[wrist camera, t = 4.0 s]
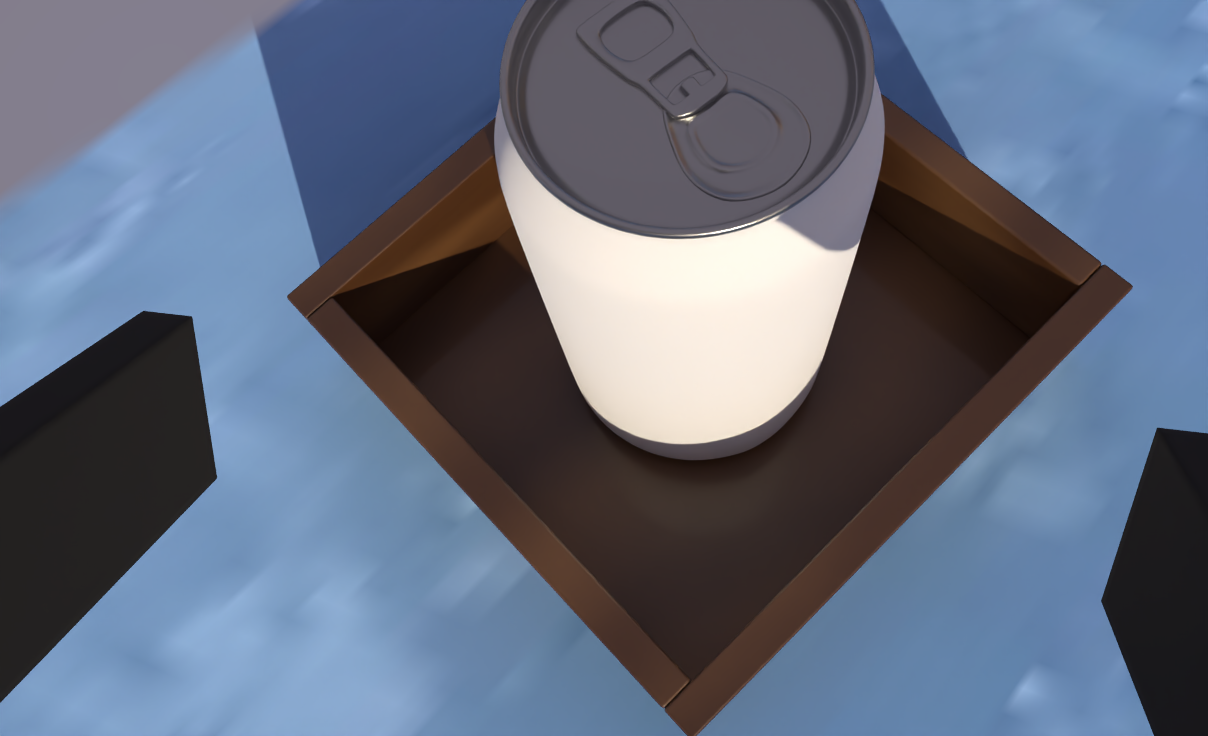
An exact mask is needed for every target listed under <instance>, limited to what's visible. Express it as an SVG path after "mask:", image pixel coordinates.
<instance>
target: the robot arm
mask: <svg viewBox="0 0 1208 736" xmlns="http://www.w3.org/2000/svg"><path fill="white" fill-rule="evenodd" d="M216 479H217V475H216V468H215V462H214V455H213V449H212V442H211V436H210V429H209V423H208V416H207V410H206V403H205V397H204V391H203V384H202V378H201V371H200V365H199V358H198V352H197V345H196V339H195V332H194V326H193V319H192V317H191V316H183V315H174V314H165V313H157V312H148V311H142V312H141V313H139V314H138V315H136V316H135V317H133V318H132V319H131V320H129V321H128V322H126V323H125V324H123V325H122V326H120V327H119V328H117V329H116V330H114V331H113V332H111V333H110V334H108V335H107V336H105V337H104V338H102V339H101V340H99V341H98V342H96V343H95V344H93V345H92V346H90V347H89V348H87V349H86V350H84V351H83V352H81V353H80V354H78V355H77V356H75V357H74V358H72V359H71V360H69V361H68V362H66V363H65V364H63V365H62V366H60V367H59V368H57V369H56V370H55V371H53V372H52V373H50V374H49V375H47V376H46V377H44V378H43V379H41V380H40V381H38V382H37V383H35V384H34V385H32V386H31V387H29V388H28V389H26V390H25V391H23V392H22V393H20V394H19V395H17V396H16V397H14V398H13V399H11V400H10V401H8V402H7V403H5V404H4V405H2V406H1V407H0V702H1V701H2V700H3V699H4V698H5V697H6V696H7V695H8V694H9V693H10V692H11V691H12V690H13V689H14V688H15V687H16V686H17V685H18V684H19V683H20V682H21V681H22V680H23V679H24V678H25V677H26V676H27V675H28V673H29V672H30V671H31V670H32V669H33V668H34V667H35V666H36V665H37V664H38V663H39V662H40V661H41V660H42V659H43V658H44V657H45V656H46V655H47V654H48V653H49V652H50V651H51V650H52V649H53V648H54V647H55V646H56V644H57V643H58V642H59V641H60V640H61V639H62V638H63V637H64V636H65V635H66V634H67V633H68V632H69V631H70V630H71V629H72V628H73V627H74V626H75V625H76V624H77V623H78V622H79V621H80V620H81V619H82V618H83V617H84V615H85V614H86V613H87V612H88V611H89V610H90V609H91V608H92V607H93V606H94V605H95V604H96V603H97V602H98V601H99V600H100V599H101V598H102V597H103V596H104V595H105V594H106V593H107V592H108V591H109V590H110V589H111V588H112V586H113V585H114V584H115V583H116V582H117V581H118V580H119V579H120V578H121V577H122V576H123V575H124V574H125V573H126V572H127V571H128V570H129V569H130V568H131V567H132V566H133V565H134V564H135V563H136V562H137V561H138V560H139V559H140V557H141V556H142V555H143V554H144V553H145V552H146V551H147V550H148V549H149V548H150V547H151V546H152V545H153V544H154V543H155V542H156V541H157V540H158V539H159V538H160V537H161V536H162V535H163V534H164V533H165V532H166V531H167V530H168V528H169V527H170V526H171V525H172V524H173V523H174V522H175V521H176V520H177V519H178V518H179V517H180V516H181V515H182V514H183V513H184V512H185V511H186V510H187V509H188V508H189V507H190V506H191V505H192V504H193V503H194V502H195V501H196V499H197V498H198V497H199V496H200V495H201V494H202V493H203V492H204V491H205V490H206V489H207V488H208V487H209V486H210V485H211V484H212V483H213V482H214V481H215V480H216ZM1101 602H1102V604H1103V607H1104V609H1105V612H1106V614H1107V617H1108V620H1109V622H1110V625H1111V627H1112V630H1113V632H1114V635H1115V637H1116V640H1117V642H1118V645H1119V648H1120V650H1121V653H1122V655H1123V658H1124V660H1125V663H1126V665H1127V668H1128V670H1129V673H1130V676H1131V678H1132V681H1133V683H1134V686H1135V688H1136V691H1137V693H1138V696H1139V698H1140V701H1141V704H1142V706H1143V709H1144V711H1145V714H1146V716H1147V719H1148V721H1149V724H1150V726H1151V729H1152V732H1153V734H1154V736H1208V434H1207V433H1199V432H1190V431H1181V430H1173V429H1164V428H1157V430H1156V433H1155V436H1154V439H1153V442H1152V445H1151V448H1150V452H1149V455H1148V458H1147V461H1146V464H1145V467H1144V470H1143V473H1142V476H1141V479H1140V482H1139V486H1138V489H1137V492H1136V495H1135V498H1134V501H1133V504H1132V507H1131V510H1130V513H1129V517H1128V520H1127V523H1126V526H1125V529H1124V532H1123V535H1122V538H1121V541H1120V544H1119V548H1118V551H1117V554H1116V557H1115V560H1114V563H1113V566H1112V569H1111V572H1110V575H1109V578H1108V582H1107V585H1106V588H1105V591H1104V594H1103V597H1102V600H1101Z"/></svg>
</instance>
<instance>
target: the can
mask: <svg viewBox="0 0 1208 736" xmlns="http://www.w3.org/2000/svg"><path fill="white" fill-rule="evenodd" d="M499 85H500V100H499V104H498V109H497V114H496V120H495V132H494V146H495V157H496V164H497V170H498V176H499V180H500V184H501V188H502V191H503V195H504V198H505V201H506V204H507V207H508V210H509V213H510V215H511V218H512V221H513V223H514V226H515V229H516V232H517V234H518V237H519V240H520V242H521V245H522V247H523V250H524V253H525V255H526V258H527V260H528V263H529V265H530V268H531V271H532V273H533V276H534V278H535V281H536V283H537V286H538V289H539V291H540V294H541V296H542V299H543V301H544V304H545V306H546V309H547V311H548V314H549V316H550V319H551V322H552V324H553V327H554V329H555V332H556V334H557V337H558V339H559V342H560V344H561V347H562V349H563V351H564V354H565V356H566V359H567V361H568V364H569V366H570V369H571V371H572V373H573V376H574V378H575V380H576V383H577V385H578V387H579V389H580V391H581V393H582V395H583V396H584V398H585V400H586V401H587V403H588V405H589V406H590V407H591V409H592V410H593V411H594V413H595V414H596V415H597V416H598V418H599V419H600V420H601V421H602V422H603V423H604V424H605V425H606V426H607V427H608V428H609V429H611V430H612V431H613V432H614V433H615V434H617V435H618V436H620V437H621V438H622V439H624V440H626V441H627V442H629V443H631V444H632V445H634V446H636V447H638V448H640V449H643V450H645V451H648V452H650V453H653V454H656V455H660V456H664V457H668V458H674V459H682V460H708V459H716V458H722V457H727V456H731V455H735V454H739V453H742V452H745V451H747V450H749V449H752V448H754V447H756V446H757V445H759V444H761V443H762V442H764V441H765V440H767V439H768V438H770V437H771V436H772V435H774V434H775V433H776V432H777V431H778V430H779V429H780V428H781V427H783V426H784V425H785V423H786V422H787V421H788V420H789V419H790V418H791V417H792V416H793V415H794V413H795V412H796V411H797V410H798V408H799V407H800V406H801V404H802V403H803V401H804V400H805V398H806V397H807V395H808V393H809V392H810V390H811V388H812V386H813V384H814V381H815V379H816V376H817V374H818V371H819V368H820V365H821V362H822V360H823V357H824V354H825V350H826V347H827V344H828V341H829V338H830V335H831V332H832V329H833V326H834V322H835V319H836V316H837V313H838V310H839V307H840V304H841V300H842V297H843V294H844V291H845V288H846V284H847V281H848V278H849V275H850V272H851V268H852V265H853V262H854V259H855V255H856V252H857V249H858V246H859V242H860V239H861V236H862V233H863V229H864V226H865V223H866V219H867V216H868V213H869V209H870V206H871V202H872V199H873V196H874V192H875V188H876V184H877V180H878V176H879V172H880V167H881V162H882V156H883V147H884V134H885V122H884V109H883V103H882V97H881V93H880V89H879V85H878V82H877V79H876V76H875V66H874V54H873V47H872V42H871V38H870V34H869V31H868V28H867V25H866V22H865V20H864V17H863V15H862V13H861V11H860V9H859V7H858V5H857V3H856V1H855V0H526V2H525V4H524V5H523V7H522V8H521V10H520V12H519V13H518V15H517V17H516V19H515V21H514V23H513V25H512V28H511V30H510V32H509V35H508V38H507V41H506V44H505V47H504V51H503V56H502V61H501V68H500V82H499Z"/></svg>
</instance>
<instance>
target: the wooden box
mask: <svg viewBox="0 0 1208 736" xmlns="http://www.w3.org/2000/svg"><path fill="white" fill-rule="evenodd" d="M881 97H882V103H883V109H884V122H885V134H884V147H883V156H882V162H881V167H880V172H879V176H878V180H877V184H876V188H875V192H874V196H873V199H872V202H871V206H870V209H869V213H868V216H867V219H866V223H865V226H864V229H863V233H862V236H861V239H860V242H859V246H858V249H857V252H856V255H855V259H854V262H853V265H852V268H851V272H850V275H849V278H848V281H847V284H846V288H845V291H844V294H843V297H842V300H841V304H840V307H839V310H838V313H837V316H836V319H835V322H834V326H833V329H832V332H831V335H830V338H829V341H828V344H827V347H826V350H825V354H824V357H823V360H822V362H821V365H820V368H819V371H818V374H817V376H816V379H815V381H814V384H813V386H812V388H811V390H810V392H809V393H808V395H807V397H806V398H805V400H804V401H803V403H802V404H801V406H800V407H799V408H798V410H797V411H796V412H795V413H794V415H793V416H792V417H791V418H790V419H789V420H788V421H787V422H786V423H785V425H784V426H783V427H781V428H780V429H779V430H778V431H777V432H776V433H775V434H774V435H772V436H771V437H770V438H768V439H767V440H765V441H764V442H762V443H761V444H759V445H757V446H756V447H754V448H752V449H749V450H747V451H745V452H742V453H739V454H735V455H731V456H727V457H722V458H716V459H708V460H682V459H674V458H668V457H664V456H660V455H656V454H653V453H650V452H648V451H645V450H643V449H640V448H638V447H636V446H634V445H632V444H631V443H629V442H627V441H626V440H624V439H622V438H621V437H620V436H618V435H617V434H615V433H614V432H613V431H612V430H611V429H609V428H608V427H607V426H606V425H605V424H604V423H603V422H602V421H601V420H600V419H599V418H598V416H597V415H596V414H595V413H594V411H593V410H592V409H591V407H590V406H589V405H588V403H587V401H586V400H585V398H584V396H583V395H582V393H581V391H580V389H579V387H578V385H577V383H576V380H575V378H574V376H573V373H572V371H571V369H570V366H569V364H568V361H567V359H566V356H565V354H564V351H563V349H562V347H561V344H560V342H559V339H558V337H557V334H556V332H555V329H554V327H553V324H552V322H551V319H550V316H549V314H548V311H547V309H546V306H545V304H544V301H543V299H542V296H541V294H540V291H539V289H538V286H537V283H536V281H535V278H534V276H533V273H532V271H531V268H530V265H529V263H528V260H527V258H526V255H525V253H524V250H523V247H522V245H521V242H520V240H519V237H518V234H517V232H516V229H515V226H514V223H513V221H512V218H511V215H510V213H509V210H508V207H507V204H506V201H505V198H504V195H503V191H502V188H501V184H500V180H499V176H498V170H497V164H496V157H495V146H494V132H495V120H496V117H495V118H494V119H493V120H492V121H491V122H489V123H488V124H487V125H486V126H485V127H484V128H482V129H481V130H480V131H479V132H478V133H477V134H475V135H474V136H473V137H472V138H471V139H470V140H468V141H467V142H466V143H465V144H464V145H463V146H461V147H460V148H459V149H458V150H457V151H456V152H454V153H453V154H452V155H451V156H450V157H449V158H447V159H446V160H445V161H444V162H443V163H442V164H440V165H439V166H438V167H437V168H436V169H435V170H433V171H432V172H431V173H430V174H429V175H428V176H426V177H425V178H424V179H423V180H422V181H421V182H419V183H418V184H417V185H416V186H415V187H414V188H412V189H411V190H410V191H409V192H408V193H407V194H405V195H404V196H403V197H402V198H401V199H400V200H398V201H397V202H396V203H395V204H394V205H393V206H391V207H390V208H389V209H388V210H387V211H386V212H384V213H383V214H382V215H381V216H380V217H379V218H377V219H376V220H375V221H374V222H373V223H372V224H370V225H369V226H368V227H367V228H366V229H365V230H363V231H362V232H361V233H360V234H359V235H358V236H356V237H355V238H354V239H353V240H352V241H351V242H349V243H348V244H347V245H346V246H345V247H344V248H342V249H341V250H340V251H339V252H338V253H337V254H335V255H334V256H333V257H332V258H331V259H330V260H328V261H327V262H326V263H325V264H324V265H323V266H321V267H320V268H319V269H318V270H317V271H316V272H314V273H313V274H312V275H311V276H310V277H309V278H307V279H306V280H305V281H304V282H303V283H302V284H300V285H299V286H298V287H297V288H296V289H295V290H293V291H292V292H291V293H290V294H289V295H288V296H287V298H288V300H289V301H290V302H291V303H292V304H293V305H294V306H295V307H296V308H297V309H298V310H299V312H300V313H301V314H302V315H303V316H304V317H305V318H306V319H307V320H308V321H309V322H310V324H311V325H312V326H313V327H314V328H315V329H316V330H317V331H318V332H319V333H320V335H321V336H322V337H323V338H324V339H325V340H326V341H327V342H328V343H329V344H330V345H331V347H332V348H333V349H334V350H335V351H336V352H337V353H338V354H339V355H340V356H341V357H342V359H343V360H344V361H345V362H346V363H347V364H348V365H349V366H350V367H351V368H352V370H353V371H354V372H355V373H356V374H357V375H358V376H359V377H360V378H361V379H362V380H363V382H364V383H365V384H366V385H367V386H368V387H369V388H370V389H371V390H372V391H373V392H374V394H375V395H376V396H377V397H378V398H379V399H380V400H381V401H382V402H383V403H384V404H385V406H386V407H387V408H388V409H389V410H390V411H391V412H392V413H393V414H394V415H395V417H396V418H397V419H398V420H399V421H400V422H401V423H402V424H403V425H404V426H405V427H406V429H407V430H408V431H409V432H410V433H411V434H412V435H413V436H414V437H415V438H416V439H417V441H418V442H419V443H420V444H421V445H422V446H423V447H424V448H425V449H426V450H427V452H428V453H429V454H430V455H431V456H432V457H433V458H434V459H435V460H436V461H437V462H438V464H439V465H440V466H441V467H442V468H443V469H444V470H445V471H446V472H447V473H448V474H449V476H450V477H451V478H452V479H453V480H454V481H455V482H456V483H457V484H458V485H459V486H460V488H461V489H462V490H463V491H464V492H465V493H466V494H467V495H468V496H469V497H470V499H471V500H472V501H473V502H474V503H475V504H476V505H477V506H478V507H479V508H480V509H481V511H482V512H483V513H484V514H485V515H486V516H487V517H488V518H489V519H490V520H491V521H492V523H493V524H494V525H495V526H496V527H497V528H498V529H499V530H500V531H501V532H502V534H503V535H504V536H505V537H506V538H507V539H508V540H509V541H510V542H511V543H512V544H513V546H514V547H515V548H516V549H517V550H518V551H519V552H520V553H521V554H522V555H523V556H524V558H525V559H526V560H527V561H528V562H529V563H530V564H531V565H532V566H533V567H534V568H535V570H536V571H537V572H538V573H539V574H540V575H541V576H542V577H543V578H544V579H545V581H546V582H547V583H548V584H549V585H550V586H551V587H552V588H553V589H554V590H555V591H556V593H557V594H558V595H559V596H560V597H561V598H562V599H563V600H564V601H565V602H566V603H567V605H568V606H569V607H570V608H571V609H572V610H573V611H574V612H575V613H576V614H577V616H578V617H579V618H580V619H581V620H582V621H583V622H584V623H585V624H586V625H587V626H588V628H589V629H590V630H591V631H592V632H593V633H594V634H595V635H596V636H597V637H598V638H599V640H600V641H601V642H602V643H603V644H604V645H605V646H606V647H607V648H608V649H609V650H610V652H611V653H612V654H613V655H614V656H615V657H616V658H617V659H618V660H619V661H620V663H621V664H622V665H623V666H624V667H625V668H626V669H627V670H628V671H629V672H630V673H631V675H632V676H633V677H634V678H635V679H636V680H637V681H638V682H639V683H640V684H641V685H642V687H643V688H644V689H645V690H646V691H647V692H648V693H649V694H650V695H651V696H652V697H653V699H654V700H655V701H656V702H657V703H658V704H659V705H660V706H661V707H663V708H665V712H666V713H667V714H668V715H669V716H670V717H671V718H672V719H673V720H674V722H675V723H676V724H677V725H678V726H679V727H680V728H681V729H682V730H683V731H684V733H685V734H686V735H687V736H697V735H698V734H699V733H700V732H701V731H702V730H703V728H704V727H705V726H706V725H707V724H708V723H709V722H710V721H711V720H712V719H713V718H714V717H715V716H716V715H717V714H718V713H719V712H720V711H721V710H722V709H723V708H724V707H725V706H726V705H727V704H728V703H729V702H730V701H731V700H732V699H733V698H734V697H735V696H736V695H737V694H738V693H739V692H740V691H741V689H742V688H743V687H744V686H745V685H746V684H747V683H748V682H749V681H750V680H751V679H752V678H753V677H754V676H755V675H756V674H757V673H758V672H759V671H760V670H761V669H762V668H763V667H764V666H765V665H766V664H767V663H768V662H769V661H770V660H771V659H772V658H773V657H774V656H775V655H776V654H777V653H778V652H779V651H780V649H781V648H782V647H783V646H784V645H785V644H786V643H787V642H788V641H789V640H790V639H791V638H792V637H793V636H794V635H795V634H796V633H797V632H798V631H799V630H800V629H801V628H802V627H803V626H804V625H805V624H806V623H807V622H808V621H809V620H810V619H811V618H812V617H813V616H814V615H815V614H816V613H817V612H818V610H819V609H820V608H821V607H822V606H823V605H824V604H825V603H826V602H827V601H828V600H829V599H830V598H831V597H832V596H833V595H834V594H835V593H836V592H837V591H838V590H839V589H840V588H841V587H842V586H843V585H844V584H845V583H846V582H847V581H848V580H849V579H850V578H851V577H852V576H853V575H854V574H855V573H856V572H857V570H858V569H859V568H860V567H861V566H862V565H863V564H864V563H865V562H866V561H867V560H868V559H869V558H870V557H871V556H872V555H873V554H874V553H875V552H876V551H877V550H878V549H879V548H880V547H881V546H882V545H883V544H884V543H885V542H886V541H887V540H888V539H889V538H890V537H891V536H892V535H893V534H894V533H895V532H896V530H897V529H898V528H899V527H900V526H901V525H902V524H903V523H904V522H905V521H906V520H907V519H908V518H909V517H910V516H911V515H912V514H913V513H914V512H915V511H916V510H917V509H918V508H919V507H920V506H921V505H922V504H923V503H924V502H925V501H926V500H927V499H928V498H929V497H930V496H931V495H932V494H933V493H934V491H935V490H936V489H937V488H938V487H939V486H940V485H941V484H942V483H943V482H944V481H945V480H946V479H947V478H948V477H949V476H950V475H951V474H952V473H953V472H954V471H955V470H956V469H957V468H958V467H959V466H960V465H961V464H962V463H963V462H964V461H965V460H966V459H967V458H968V457H969V456H970V455H971V454H972V453H973V451H974V450H975V449H976V448H977V447H978V446H979V445H980V444H981V443H982V442H983V441H984V440H985V439H986V438H987V437H988V436H989V435H990V434H991V433H992V432H993V431H994V430H995V429H996V428H997V427H998V426H999V425H1000V424H1001V423H1002V422H1003V421H1004V420H1005V419H1006V418H1007V417H1008V416H1009V415H1010V414H1011V413H1012V411H1013V410H1014V409H1015V408H1016V407H1017V406H1018V405H1019V404H1020V403H1021V402H1022V401H1023V400H1024V399H1025V398H1026V397H1027V396H1028V395H1029V394H1030V393H1031V392H1032V391H1033V390H1034V389H1035V388H1036V387H1037V386H1038V385H1039V384H1040V383H1041V382H1042V381H1043V380H1044V379H1045V378H1046V377H1047V376H1048V375H1049V374H1050V372H1051V371H1052V370H1053V369H1054V368H1055V367H1056V366H1057V365H1058V364H1059V363H1060V362H1061V361H1062V360H1063V359H1064V358H1065V357H1066V356H1067V355H1068V354H1069V353H1070V352H1071V351H1072V350H1073V349H1074V348H1075V347H1076V346H1077V345H1078V344H1079V343H1080V342H1081V341H1082V340H1083V339H1084V338H1085V337H1086V336H1087V335H1088V334H1089V332H1090V331H1091V330H1092V329H1093V328H1094V327H1095V326H1096V325H1097V324H1098V323H1099V322H1100V321H1101V320H1102V319H1103V318H1104V317H1105V316H1106V315H1107V314H1108V313H1109V312H1110V311H1111V310H1112V309H1113V308H1114V307H1115V306H1116V305H1117V304H1118V303H1119V302H1120V301H1121V300H1122V299H1123V298H1124V297H1125V296H1126V295H1127V294H1128V292H1129V291H1130V290H1131V289H1132V287H1133V286H1132V285H1131V284H1130V283H1129V282H1127V281H1126V280H1125V279H1123V278H1122V277H1121V276H1119V275H1118V274H1117V273H1115V272H1114V271H1113V270H1112V269H1110V268H1109V267H1108V266H1106V265H1102V266H1101V262H1100V261H1099V260H1098V259H1096V258H1095V257H1094V256H1092V255H1091V254H1090V253H1088V252H1087V251H1086V250H1085V249H1083V248H1082V247H1081V246H1079V245H1078V244H1077V243H1075V242H1074V241H1073V240H1071V239H1070V238H1069V237H1068V236H1066V235H1065V234H1064V233H1062V232H1061V231H1060V230H1058V229H1057V228H1056V227H1055V226H1053V225H1052V224H1051V223H1049V222H1048V221H1047V220H1045V219H1044V218H1043V217H1041V216H1040V215H1039V214H1038V213H1036V212H1035V211H1034V210H1032V209H1031V208H1030V207H1028V206H1027V205H1026V204H1025V203H1023V202H1022V201H1021V200H1019V199H1018V198H1017V197H1015V196H1014V195H1013V194H1012V193H1010V192H1009V191H1008V190H1006V189H1005V188H1004V187H1002V186H1001V185H1000V184H998V183H997V182H996V181H995V180H993V179H992V178H991V177H989V176H988V175H987V174H985V173H984V172H983V171H982V170H980V169H979V168H978V167H976V166H975V165H974V164H972V163H971V162H970V161H968V160H967V159H966V158H965V157H963V156H962V155H961V154H959V153H958V152H957V151H955V150H954V149H953V148H952V147H950V146H949V145H948V144H946V143H945V142H944V141H942V140H941V139H940V138H938V137H937V136H936V135H935V134H933V133H932V132H931V131H929V130H928V129H927V128H925V127H924V126H923V125H922V124H920V123H919V122H918V121H916V120H915V119H914V118H912V117H911V116H910V115H908V114H907V113H906V112H905V111H903V110H902V109H901V108H899V107H898V106H897V105H895V104H894V103H893V102H892V101H890V100H889V99H888V98H886V97H885V96H884V95H882V94H881Z"/></svg>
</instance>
